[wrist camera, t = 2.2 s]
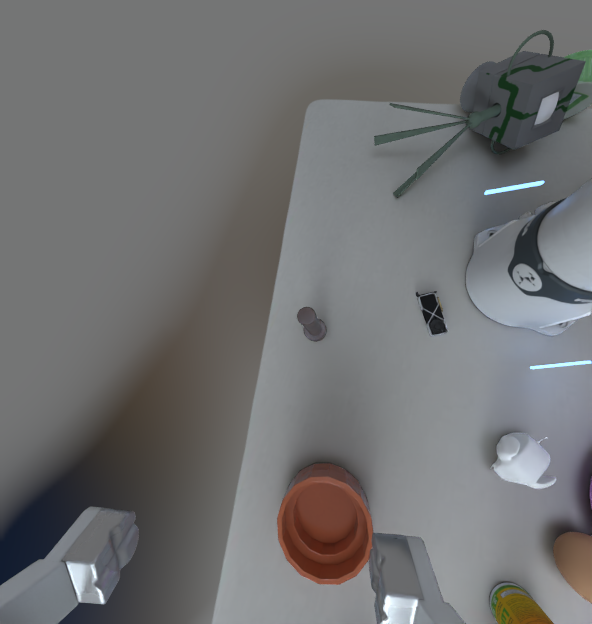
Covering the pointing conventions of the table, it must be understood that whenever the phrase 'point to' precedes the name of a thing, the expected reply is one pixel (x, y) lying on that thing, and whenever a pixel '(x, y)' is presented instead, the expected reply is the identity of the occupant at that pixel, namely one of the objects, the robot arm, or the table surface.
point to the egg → (575, 561)
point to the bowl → (325, 524)
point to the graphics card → (432, 313)
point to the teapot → (591, 492)
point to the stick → (311, 324)
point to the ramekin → (581, 85)
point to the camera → (507, 102)
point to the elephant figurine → (523, 461)
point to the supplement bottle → (515, 606)
